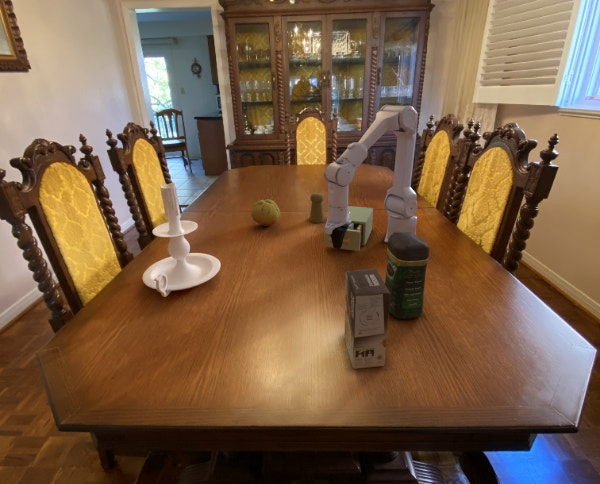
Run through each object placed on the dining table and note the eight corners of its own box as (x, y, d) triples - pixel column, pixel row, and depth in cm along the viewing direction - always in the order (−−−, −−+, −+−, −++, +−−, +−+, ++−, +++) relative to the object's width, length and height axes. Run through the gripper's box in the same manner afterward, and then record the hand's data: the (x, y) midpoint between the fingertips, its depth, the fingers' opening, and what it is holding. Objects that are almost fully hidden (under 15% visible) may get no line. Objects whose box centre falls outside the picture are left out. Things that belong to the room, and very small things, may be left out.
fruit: (246, 229, 131) (244, 203, 127) (261, 218, 141) (259, 195, 137) (272, 232, 127) (271, 206, 123) (285, 221, 137) (284, 197, 133)
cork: (323, 223, 134) (323, 196, 130) (308, 222, 135) (307, 195, 131) (325, 217, 140) (325, 191, 136) (311, 217, 141) (310, 191, 137)
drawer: (356, 257, 105) (357, 237, 103) (320, 252, 109) (320, 232, 106) (366, 234, 120) (367, 217, 118) (335, 231, 124) (335, 214, 122)
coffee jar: (427, 319, 78) (437, 244, 71) (393, 322, 77) (400, 247, 70) (409, 295, 87) (416, 227, 80) (378, 298, 86) (383, 229, 79)
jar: (354, 237, 116) (355, 221, 114) (351, 243, 112) (351, 227, 110) (340, 235, 118) (340, 219, 116) (336, 241, 114) (336, 225, 111)
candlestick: (120, 309, 84) (92, 200, 74) (164, 261, 107) (148, 173, 97) (202, 311, 83) (185, 200, 72) (229, 262, 106) (219, 172, 95)
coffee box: (386, 366, 65) (392, 293, 59) (352, 369, 65) (355, 296, 59) (372, 334, 74) (376, 267, 68) (342, 336, 73) (344, 270, 67)
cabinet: (364, 245, 114) (365, 222, 111) (327, 241, 118) (328, 218, 115) (372, 229, 127) (373, 208, 124) (338, 226, 131) (338, 205, 128)
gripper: (341, 214, 92) (340, 260, 97) (359, 199, 104) (358, 240, 109) (317, 210, 95) (317, 255, 100) (338, 196, 107) (337, 236, 112)
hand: (337, 247), depth 105 cm, fingers closed
